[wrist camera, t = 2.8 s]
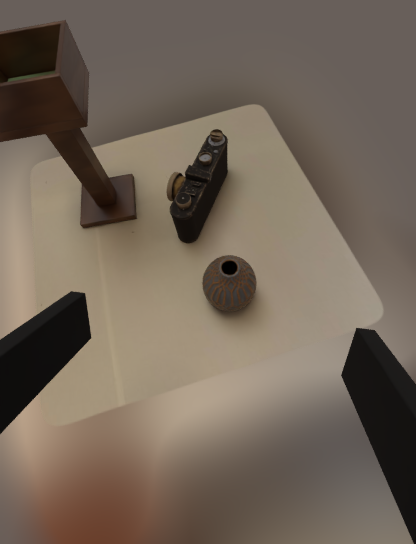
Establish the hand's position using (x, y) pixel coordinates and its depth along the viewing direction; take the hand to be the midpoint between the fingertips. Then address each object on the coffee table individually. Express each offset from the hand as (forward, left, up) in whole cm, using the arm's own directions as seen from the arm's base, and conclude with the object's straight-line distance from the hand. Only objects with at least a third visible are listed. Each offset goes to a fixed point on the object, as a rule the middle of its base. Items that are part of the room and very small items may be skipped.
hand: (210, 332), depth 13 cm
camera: (+1, +26, -23) cm, 35 cm away
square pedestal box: (-14, +29, -22) cm, 39 cm away
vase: (+3, +9, -23) cm, 25 cm away
